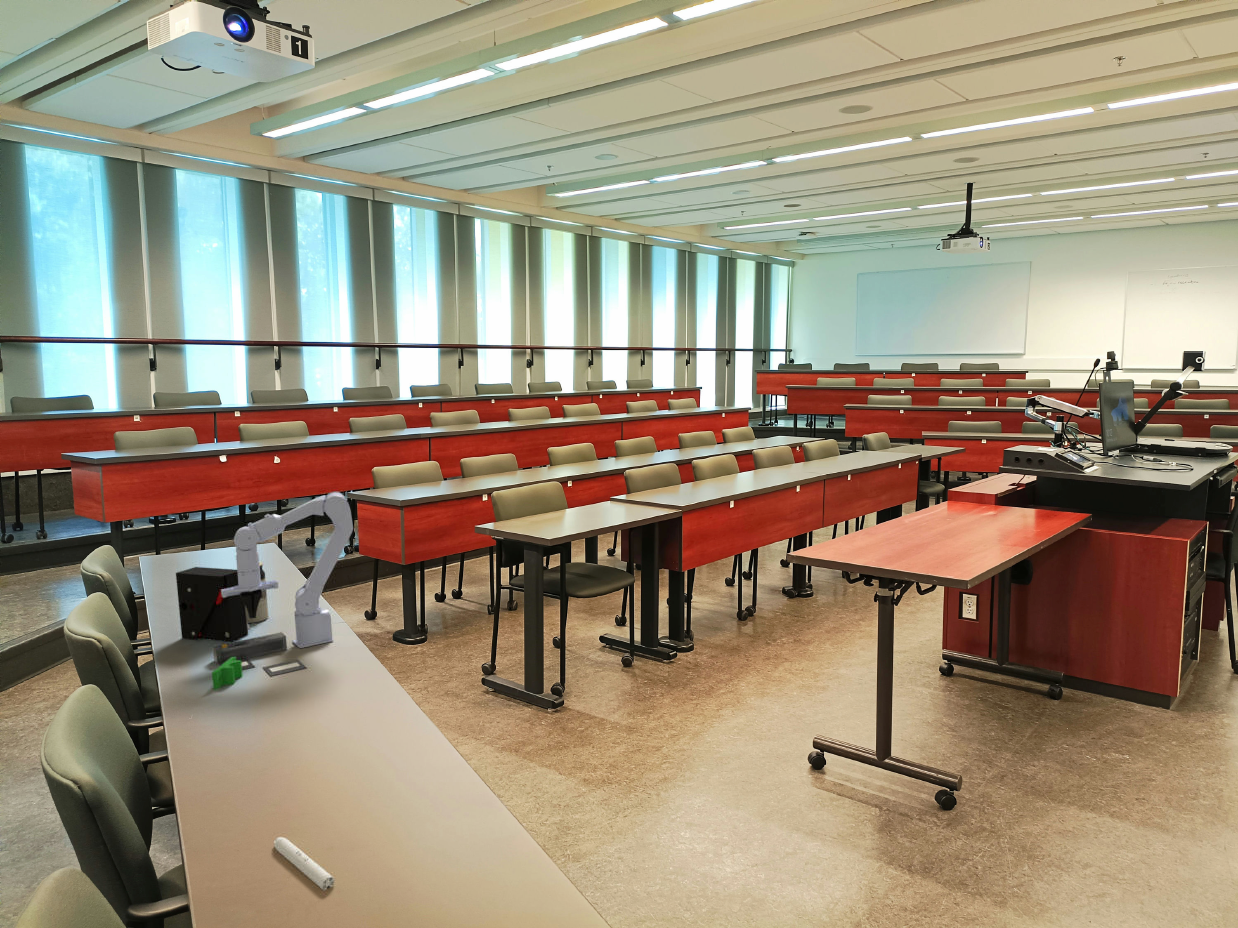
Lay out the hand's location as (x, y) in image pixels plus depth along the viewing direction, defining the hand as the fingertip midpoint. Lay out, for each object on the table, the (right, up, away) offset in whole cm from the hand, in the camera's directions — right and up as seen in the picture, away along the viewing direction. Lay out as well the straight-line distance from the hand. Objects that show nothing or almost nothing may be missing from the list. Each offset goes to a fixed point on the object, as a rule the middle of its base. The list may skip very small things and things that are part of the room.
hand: (252, 617), depth 234 cm
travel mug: (-12, -7, +30) cm, 33 cm away
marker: (+53, -21, -102) cm, 117 cm away
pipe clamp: (+4, -12, -22) cm, 26 cm away
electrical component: (-17, -9, +15) cm, 24 cm away
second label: (+15, -11, -14) cm, 23 cm away
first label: (+1, -11, -12) cm, 16 cm away
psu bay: (+1, -10, -3) cm, 10 cm away
